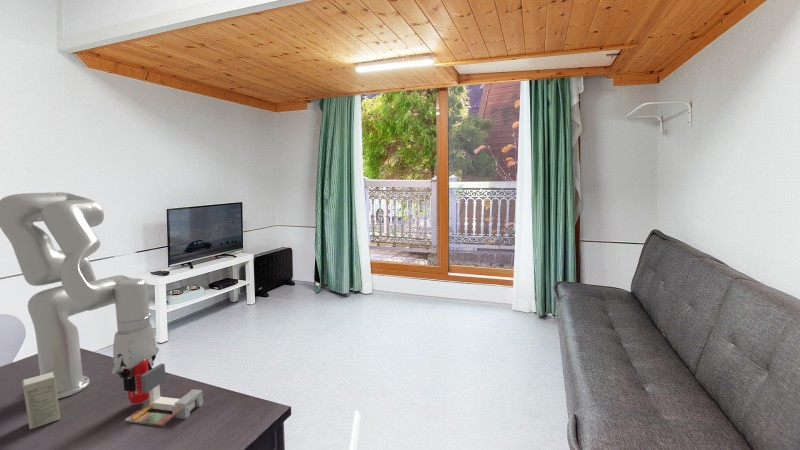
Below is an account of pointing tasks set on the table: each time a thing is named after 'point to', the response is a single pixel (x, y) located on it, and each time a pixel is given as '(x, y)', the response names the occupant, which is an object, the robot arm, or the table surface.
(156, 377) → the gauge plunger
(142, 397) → the beverage can
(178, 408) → the bench
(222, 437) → the table surface
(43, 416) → the skincare box
